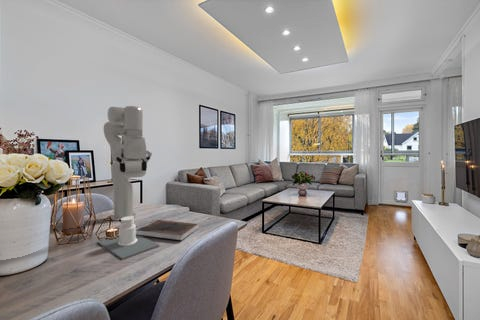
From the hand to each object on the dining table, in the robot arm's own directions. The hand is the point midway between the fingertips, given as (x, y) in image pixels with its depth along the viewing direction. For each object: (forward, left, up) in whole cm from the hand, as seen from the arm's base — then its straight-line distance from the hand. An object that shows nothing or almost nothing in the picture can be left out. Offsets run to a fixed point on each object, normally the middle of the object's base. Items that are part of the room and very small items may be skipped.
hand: (133, 171), depth 102 cm
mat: (+13, -9, -28) cm, 32 cm away
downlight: (+12, -9, -28) cm, 31 cm away
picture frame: (+14, +9, -28) cm, 32 cm away
